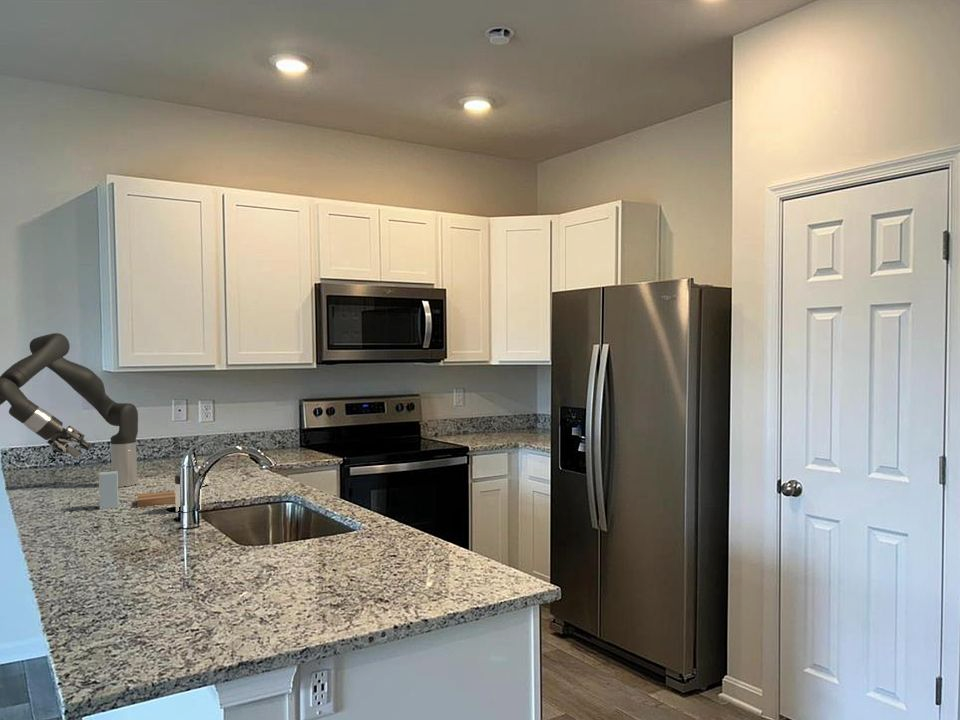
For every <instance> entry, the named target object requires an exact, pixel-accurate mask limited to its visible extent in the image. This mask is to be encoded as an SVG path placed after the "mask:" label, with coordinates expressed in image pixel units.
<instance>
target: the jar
mask: <svg viewBox="0 0 960 720" xmlns="http://www.w3.org/2000/svg"><path fill="white" fill-rule="evenodd" d="M180 474H181V473H178V474H175V475H174V483H175V484H174V491H175V513H179V512H178V511H179V507H180ZM201 510H202V488H201V489H200V510H199V511H201Z"/></svg>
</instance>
